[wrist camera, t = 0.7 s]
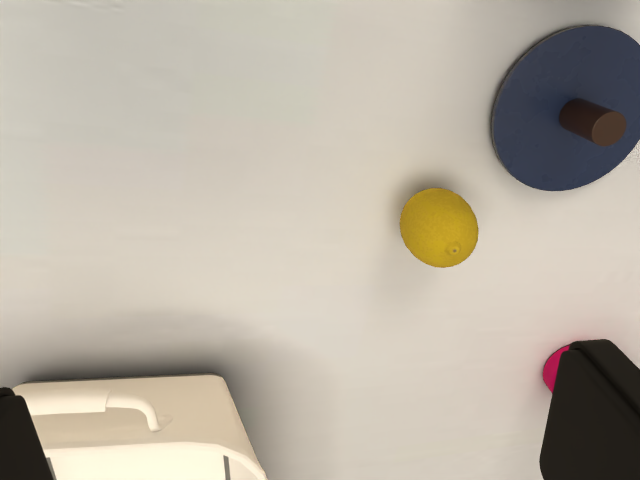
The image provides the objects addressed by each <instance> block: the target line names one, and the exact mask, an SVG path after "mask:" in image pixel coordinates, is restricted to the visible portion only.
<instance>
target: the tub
mask: <svg viewBox="0 0 640 480" xmlns="http://www.w3.org/2000/svg"><path fill="white" fill-rule="evenodd" d="M12 390H13V391H14V393H15V395H21V396H22V397H23V398H24V399H25V401H26V404H27V407H28V409H29V412H30V415H31V418H32V421H33V423H34V426H35V429H36V432H37V434H38V437H39V440H40V443H41V446H42V448H43V451H44V454H45V457H46V459H47V462H48V465H49V468H50V471H51V473H52V476H53V479H54V480H267V477H266V474H265V471H264V470H263V469H262V468H261V466H260V464H259V462H258V460H257V458H256V455H255V453H254V451H253V448H252V446H251V443H250V441H249V438H248V436H247V434H246V431H245V429H244V426H243V424H242V421H241V419H240V417H239V414H238V412H237V409H236V407H235V404H234V402H233V400H232V397H231V395H230V392H229V390H228V387H227V385H226V382H225V381H224V379H223V378H222V376H221V375H218V374H215V373H200V374H178V375H156V376H135V377H113V378H91V379H70V380H48V381H29V382H24V383H22V384H20V385H18V386H16V387H14V388H13V389H12Z"/></svg>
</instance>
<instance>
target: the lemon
mask: <svg viewBox="0 0 640 480" xmlns="http://www.w3.org/2000/svg"><path fill="white" fill-rule="evenodd" d="M400 230H401V236H402V238H403V240H404V243H405V245H406V247H407V248H408V249H409V250H410V251H411V253H412V254H413V255H414V256H415V257H416V258H418V259H419V260H421V261H422V262H424V263H425V264H428V265H431V266H434V267H442V268H444V267H451V266H454V265H457V264H459V263H461V262H462V261H464V260H465V259H466V258H468V257H469V256H470V254H471V253H472V251H473V250H474V248H475V246H476V243H477V241H478V225H477V220H476V217H475V215H474V213H473V211H472V209H471V207H470V206H469V204H468V203H467V202H466V201H465V200H464V199H463V198H462V197H461V196H459V195H458V194H456V193H454V192H452V191H450V190H446V189H442V188H430V189H426V190H422V191H420V192H419V193H417V194H415V195H414V196H413V197H412V198H410V199H409V201H408V202H407V203H406V204H405V206H404V208H403V211H402V213H401V218H400Z"/></svg>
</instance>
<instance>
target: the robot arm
mask: <svg viewBox="0 0 640 480" xmlns="http://www.w3.org/2000/svg"><path fill="white" fill-rule="evenodd" d="M539 462H540V469H541V473H542V476H543V479H544V480H640V370H639V369H638V367H637V366H636V365H635V364H634V363H633V362H632V361H631V360H630V359H629V358H628V357H627V356H626V355H625V354H624V353H623V352H622V351H621V350H620V349H619V348H618V347H617V346H616V345H615V344H613V343H612V342H611V341H609V340H606V339H600V340H588V341H576V342H573V343H571V345H570V346H569V349H568V350H567V351H563V352H562V353H561V356H560V359H559V364H558V369H557V374H556V379H555V384H554V389H553V394H552V399H551V404H550V409H549V414H548V419H547V424H546V429H545V434H544V439H543V444H542V449H541V454H540V461H539ZM0 480H54V479H53V476H52V473H51V471H50V468H49V465H48V462H47V459H46V457H45V454H44V451H43V448H42V446H41V443H40V440H39V437H38V434H37V432H36V429H35V426H34V423H33V421H32V418H31V415H30V412H29V409H28V407H27V404H26V401H25V399H24V398H23V397H22V396H21V395H15V393H14V391H13V390H12V389H10V388H7V387H3V388H0Z"/></svg>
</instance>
